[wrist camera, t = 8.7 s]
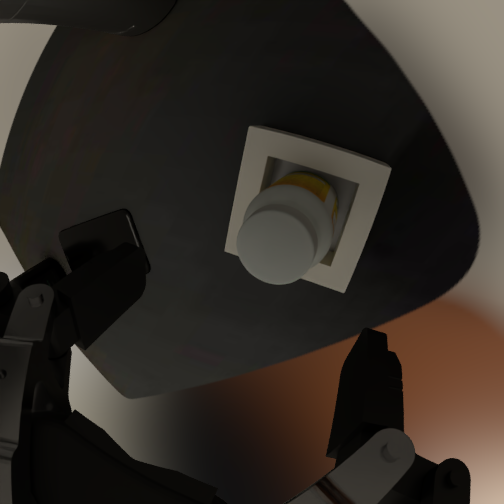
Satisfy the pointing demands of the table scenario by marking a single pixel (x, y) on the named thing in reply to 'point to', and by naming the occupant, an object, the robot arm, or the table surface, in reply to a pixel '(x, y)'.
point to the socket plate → (335, 172)
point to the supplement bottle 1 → (39, 275)
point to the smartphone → (99, 237)
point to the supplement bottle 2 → (288, 227)
